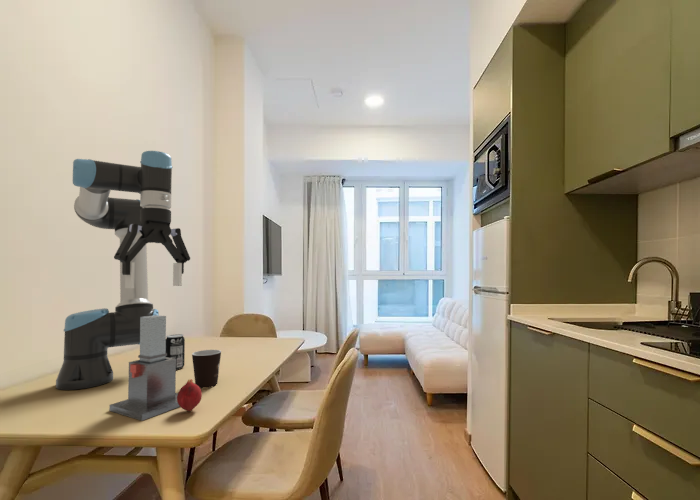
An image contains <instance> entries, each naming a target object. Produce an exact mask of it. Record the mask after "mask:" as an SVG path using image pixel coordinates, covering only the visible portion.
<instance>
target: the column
mask: <svg viewBox="0 0 700 500" xmlns="http://www.w3.org/2000/svg"><path fill="white" fill-rule="evenodd" d="M166 338H167V315H160V314H159V315H154V316H146V317H140V345H139V355H138V356H137V358H139V360H140V362H141V363H146V364H151V363H155V362H159V361H164V360H166V356H167V353H166Z"/></svg>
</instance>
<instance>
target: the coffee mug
mask: <svg viewBox="0 0 700 500" xmlns="http://www.w3.org/2000/svg"><path fill="white" fill-rule="evenodd" d="M221 357H222V350H221V349H204V350H197V351H194V352H191V358H192V368H193V374H194V383H195V384H196V385H198V386H199V387H200V389H204V388H203V387H208V388H212V387H211V386H213V387H215V386H217V385H218V383H219V381H218V380H219V373H220V365H221ZM216 384H217V385H216ZM214 385H215V386H214Z"/></svg>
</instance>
